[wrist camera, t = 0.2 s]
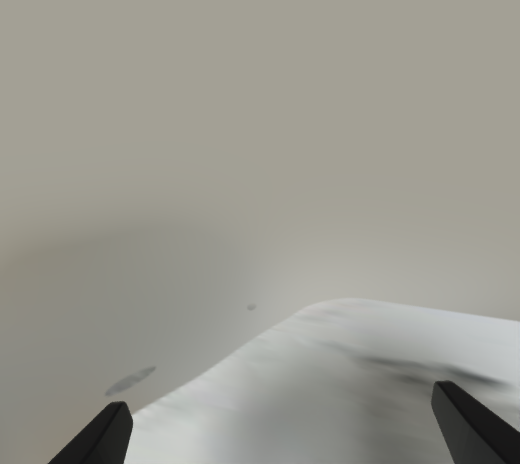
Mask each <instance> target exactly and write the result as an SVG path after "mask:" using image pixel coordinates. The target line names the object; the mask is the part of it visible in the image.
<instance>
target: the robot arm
mask: <svg viewBox="0 0 520 464" xmlns="http://www.w3.org/2000/svg"><path fill="white" fill-rule="evenodd" d="M431 405H432V409H433V412H434V414H435V417H436V419H437V422H438V424H439V426H440V429H441V431H442V434H443V436H444V439H445V441H446V444H447V446H448V448H449V451H450V453H451V456H452V458H453V461H454V463H455V464H520V432H518V431H517V430H516V429H515V428H513V427H512V426H511V425H509V424H508V423H507V422H505V421H504V420H503V419H501V418H500V417H499V416H497V415H496V414H495V413H493V412H492V411H491V410H489V409H488V408H487V407H485V406H484V405H483V404H481V403H480V402H479V401H477V400H476V399H475V398H473V397H472V396H471V395H470V394H468V393H467V392H466V391H464V390H463V389H462V388H460V387H459V386H458V385H456V384H455V383H454V382H452V381H448V380H446V381H436V382H435V383H434V387H433V393H432V399H431ZM132 428H133V419H132V416H131V414H130V411H129V408H128V406H127V404H126V403H125V402H124V401H119V402H112V403H110V404H108V405H107V406H106V407H105V408H104V409H103V410H102V411H101V412H100V413H99V414H98V415H97V416H96V417H95V418H94V419H93V420H92V421H91V422H90V423H89V424H88V425H87V426H86V427H85V428H84V429H83V430H82V431H81V432H80V433H79V434H78V435H77V436H75V437H74V438H73V439H72V440H71V441H70V442H69V443H68V444H67V445H66V446H65V447H64V448H63V449H62V450H61V451H60V452H59V453H58V454H57V455H56V456H55V457H54V458H53V459H52V460H51V461H50V462H49V463H48V464H124V460H125V456H126V452H127V448H128V444H129V440H130V436H131V432H132Z"/></svg>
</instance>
